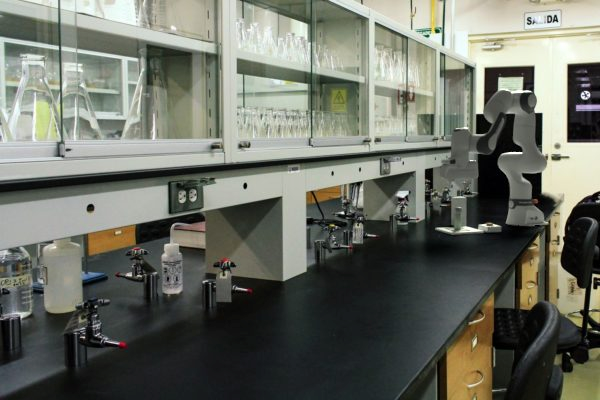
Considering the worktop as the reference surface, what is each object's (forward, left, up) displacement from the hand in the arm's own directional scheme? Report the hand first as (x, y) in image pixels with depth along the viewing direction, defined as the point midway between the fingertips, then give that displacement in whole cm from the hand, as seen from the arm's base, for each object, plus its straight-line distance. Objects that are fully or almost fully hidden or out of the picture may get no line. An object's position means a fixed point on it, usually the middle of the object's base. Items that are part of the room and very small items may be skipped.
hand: (458, 188), depth 308 cm
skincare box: (-11, -17, -22) cm, 30 cm away
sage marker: (0, 0, -21) cm, 21 cm away
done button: (-16, +4, -21) cm, 26 cm away
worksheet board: (-1, 0, -22) cm, 22 cm away
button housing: (-16, +4, -22) cm, 27 cm away
